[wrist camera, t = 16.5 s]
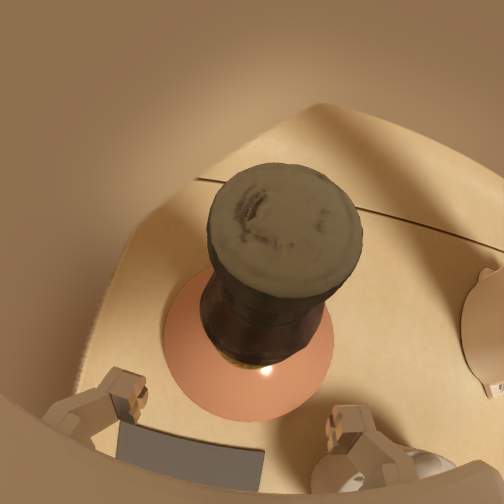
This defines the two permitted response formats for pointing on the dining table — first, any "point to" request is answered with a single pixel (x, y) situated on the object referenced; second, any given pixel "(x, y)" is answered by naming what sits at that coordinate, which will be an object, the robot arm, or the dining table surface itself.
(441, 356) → the dining table surface
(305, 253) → the sauce bottle
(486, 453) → the dining table surface
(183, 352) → the terracotta plate
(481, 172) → the dining table surface
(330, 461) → the lumpy-topped squat cylinder
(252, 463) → the rubber mat
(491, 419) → the dining table surface
